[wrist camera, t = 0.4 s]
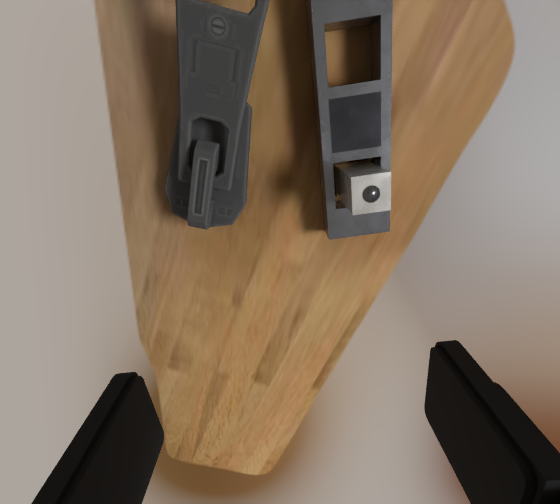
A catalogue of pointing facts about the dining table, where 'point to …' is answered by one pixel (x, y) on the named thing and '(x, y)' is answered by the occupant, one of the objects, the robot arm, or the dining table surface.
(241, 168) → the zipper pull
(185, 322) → the dining table surface
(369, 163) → the grey tall square block
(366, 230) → the rail
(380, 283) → the dining table surface
